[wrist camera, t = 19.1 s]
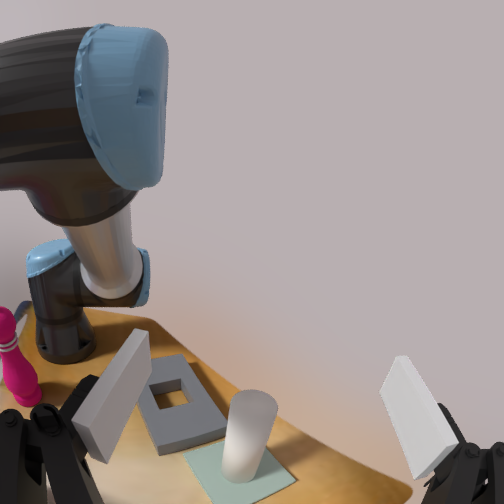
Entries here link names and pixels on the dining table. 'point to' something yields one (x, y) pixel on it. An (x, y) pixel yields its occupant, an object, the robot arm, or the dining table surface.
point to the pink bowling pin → (16, 364)
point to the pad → (230, 494)
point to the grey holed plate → (179, 408)
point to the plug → (247, 434)
